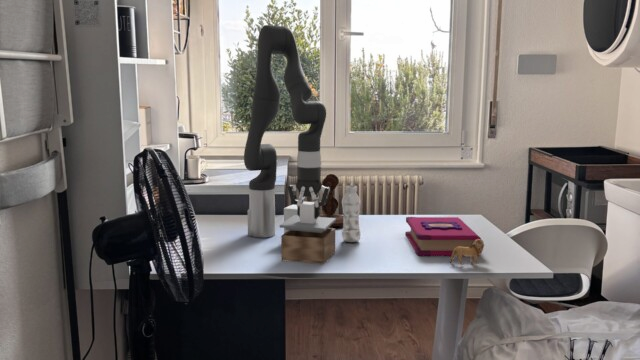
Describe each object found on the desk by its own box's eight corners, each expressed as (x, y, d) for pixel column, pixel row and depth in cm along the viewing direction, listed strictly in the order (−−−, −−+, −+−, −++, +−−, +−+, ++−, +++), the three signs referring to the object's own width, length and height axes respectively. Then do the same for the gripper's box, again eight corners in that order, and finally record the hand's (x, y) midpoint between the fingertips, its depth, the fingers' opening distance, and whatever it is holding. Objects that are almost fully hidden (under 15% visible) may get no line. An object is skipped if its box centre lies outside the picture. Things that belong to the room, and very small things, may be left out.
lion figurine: (478, 259, 194) (479, 237, 193) (486, 263, 190) (487, 240, 189) (445, 262, 191) (446, 240, 190) (452, 266, 187) (453, 243, 186)
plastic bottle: (359, 244, 211) (360, 187, 208) (339, 243, 213) (340, 187, 209) (361, 240, 217) (362, 184, 214) (343, 239, 219) (343, 184, 216)
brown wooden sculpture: (314, 220, 248) (314, 172, 244) (350, 222, 246) (351, 173, 242) (308, 229, 233) (308, 177, 230) (347, 230, 231) (347, 178, 228)
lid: (279, 230, 191) (279, 206, 190) (293, 220, 205) (293, 197, 204) (324, 234, 187) (324, 209, 186) (336, 223, 201) (336, 200, 200)
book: (461, 235, 227) (461, 215, 225) (481, 256, 199) (482, 234, 198) (404, 235, 226) (405, 215, 225) (417, 256, 199) (418, 233, 198)
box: (281, 260, 193) (281, 235, 191) (295, 248, 206) (294, 225, 205) (324, 263, 189) (324, 238, 188) (335, 251, 202) (335, 228, 201)
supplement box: (311, 240, 217) (311, 205, 215) (302, 245, 210) (302, 209, 208) (293, 238, 220) (292, 203, 218) (283, 243, 213) (283, 207, 211)
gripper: (283, 165, 191) (283, 218, 194) (327, 167, 187) (327, 221, 190) (291, 162, 198) (291, 213, 201) (333, 164, 194) (333, 216, 197)
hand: (308, 217), depth 195 cm, fingers closed on lid, 4 cm apart
